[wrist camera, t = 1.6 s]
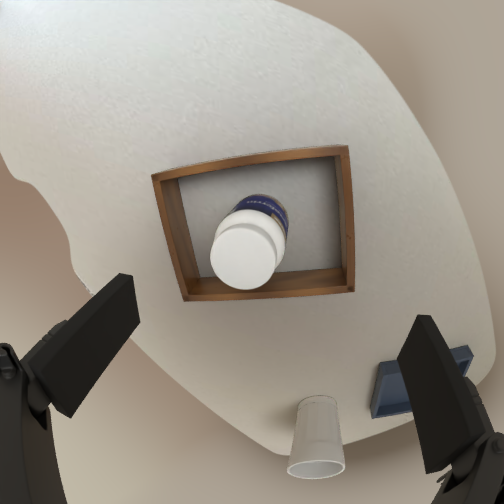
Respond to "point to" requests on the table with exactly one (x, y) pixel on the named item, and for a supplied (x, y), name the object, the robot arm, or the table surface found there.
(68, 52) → the table surface
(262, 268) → the pill bottle
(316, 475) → the cup
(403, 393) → the tray
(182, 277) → the wooden frame
